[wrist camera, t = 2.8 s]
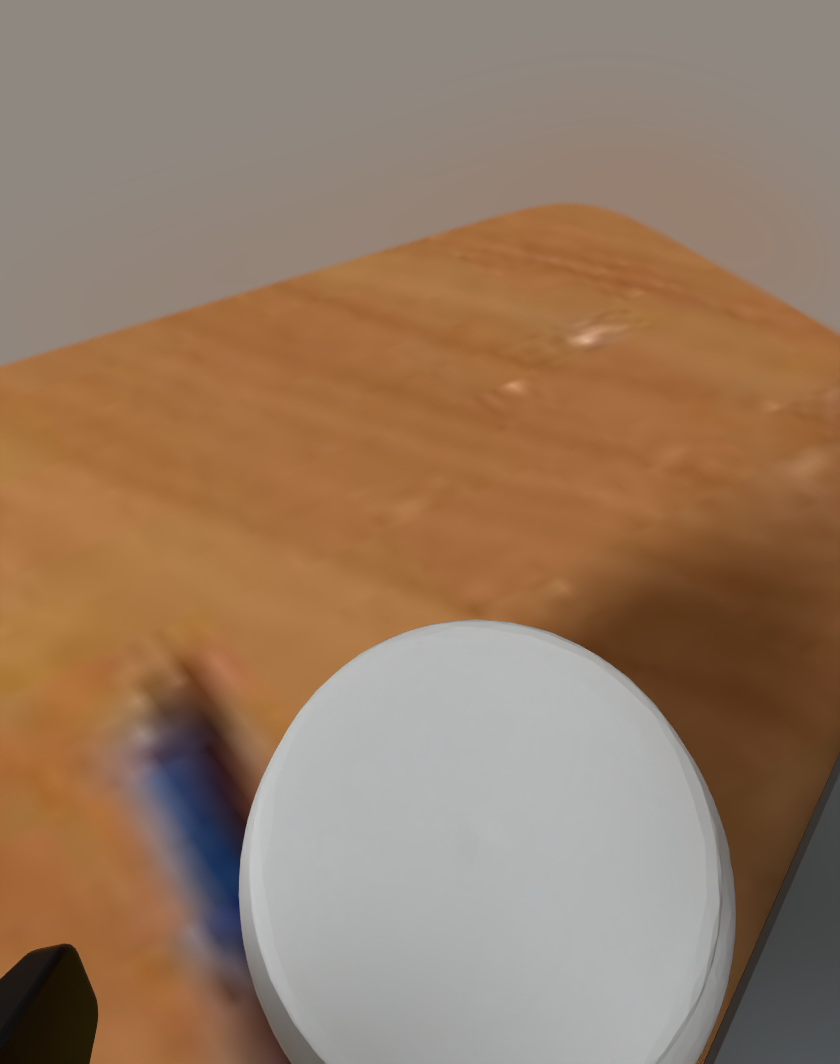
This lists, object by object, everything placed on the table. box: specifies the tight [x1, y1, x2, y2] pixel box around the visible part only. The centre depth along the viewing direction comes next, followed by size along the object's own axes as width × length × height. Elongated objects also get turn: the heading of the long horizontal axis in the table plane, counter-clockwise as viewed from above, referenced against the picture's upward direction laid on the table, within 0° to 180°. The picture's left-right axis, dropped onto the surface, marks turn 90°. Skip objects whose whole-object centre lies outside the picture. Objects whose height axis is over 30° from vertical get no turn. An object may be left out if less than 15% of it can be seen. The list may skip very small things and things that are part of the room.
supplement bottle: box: [239, 620, 736, 1064], centre depth 10 cm, size 6×6×10 cm
